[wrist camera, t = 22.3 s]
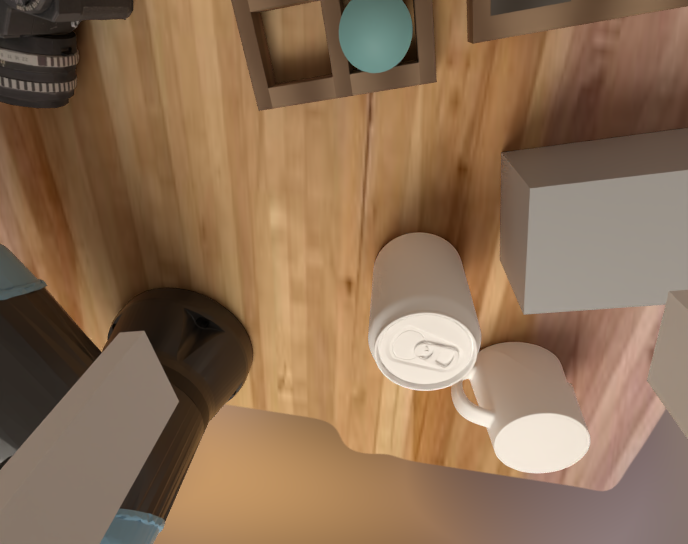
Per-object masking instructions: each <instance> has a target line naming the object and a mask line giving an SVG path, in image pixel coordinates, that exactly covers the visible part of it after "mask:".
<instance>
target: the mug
mask: <svg viewBox="0 0 688 544" xmlns="http://www.w3.org/2000/svg"><path fill="white" fill-rule="evenodd" d="M465 379H470V382H471V385H472V388H473V391H474V393H475V396H476V399H477V402H478V405H479V406H477V405H475V404H473V403H472V402H471V401H470V400H469V399H468V398H467V397H466V395H465V393H464V391H463V386H462V381H463V380H465ZM451 395H452V400H453V403H454V406H455V407H456V409H457V411H458V412H459V413H460V414H461V415H462V416H463V417H464V418H465V419H467V420H469V421H471V422H473V423H475V424H478V425H481V426H484V427H486V428H487V431H488V433H489V436H490V439H491V442H492V445H493V448H494V451H495V453H496V455H497V457H498V458H499V459H500V460H501V461H502V462H503V463H504V464H505V465H507V466H509V467H511V468H513V469H515V470H519V471H522V472H528V473H548V472H554V471H558V470H562V469H564V468H567V467H569V466H571V465H573V464H575V463H576V462H578V461H579V460H580V459H581V458H582V457H583V456H584V455H585V454H586V452H587V451H588V449H589V446H590V435H589V432H588V429H587V426H586V423H585V421H584V418H583V415H582V412H581V409H580V406H579V404H578V401H577V398H576V395H575V392H574V389H573V386H572V384H571V383H568V382H567V380H566V377H565V374H564V371H563V368H562V365H561V362H560V361H559V359H558V358H557V357H556V356H555V355H554V354H553V353H552V352H550V351H549V350H547V349H545V348H543V347H540V346H538V345H534V344H530V343H524V342H504V343H498V344H495V345H491V346H489V347H486V348H484V349H483V350H481V351H480V352H478V355H477V359H476V362H475V364H474V366H473V368H472V369H471V371H470V372H469V373H468V374H467V375H466V376H465V377H464V378H463V379H462V380H460V381H459V382H457V383H455V384H453V385H452V388H451Z"/></svg>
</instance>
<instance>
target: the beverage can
mask: <svg viewBox="0 0 688 544" xmlns="http://www.w3.org/2000/svg"><path fill="white" fill-rule="evenodd" d="M368 343H369V348H370V351H371V354H372V356H373V358H374V359H375V361H376V363H377V366H378V367H379V369H380V371H381V372H382V373H383V374H384V375H385V376H386V377H387V378H388V379H389V380H391V381H392V382H394V383H396V384H398V385H400V386H402V387H405V388H409V389H413V390H421V391H430V390H438V389H442V388H446V387H449V386H451V385H453V384H455V383H457V382H459V381H460V380H462V379H463V378H464V377H465V376H466V375H467V374H468V373H469V372H470V371H471V369H472V368H473V366H474V364H475V362H476V359H477V355H478V352H479V349H480V346H481V330H480V326H479V322H478V319H477V315H476V312H475V308H474V304H473V301H472V297H471V294H470V290H469V286H468V283H467V279H466V276H465V272H464V268H463V265H462V261H461V258H460V256H459V254H458V252H457V251H456V249H455V248H454V247H453V246H452V245H451V244H450V243H449V242H448V241H446V240H445V239H443V238H441V237H439V236H437V235H434V234H430V233H422V232H417V233H409V234H405V235H402V236H399V237H397V238H395V239H393V240H392V241H390V242H389V243H388V244H386V245H385V246H384V247H383V248H382V250H381V251H380V252H379V254H378V256H377V258H376V260H375V264H374V270H373V283H372V295H371V308H370V320H369V333H368Z"/></svg>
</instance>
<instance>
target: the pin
mask: <svg viewBox="0 0 688 544" xmlns="http://www.w3.org/2000/svg"><path fill="white" fill-rule="evenodd" d="M412 32H413V31H412V20H411V16H410V13H409V11H408V9H407V7H406V5H405V4H404V2H403V1H402V0H351V1H350V2H349V3H348V5H347V6H346V8H345V10H344V12H343V14H342V16H341V19H340V24H339V41H340V45H341V48H342V51H343V53H344V55H345V56H346V58H347V59H348V61H349V62H350V63H351V64H352V65H353V66H355V67H356V68H358V69H360V70H361V71H364V72H368V73H381V72H385V71H387V70H389V69H391V68H393V67H394V66H396V65H397V64H398V63H399V62H400V61H401V60H402V59H403V57H404V56H405V54H406V53H407V51H408V49H409V46H410V43H411V39H412Z"/></svg>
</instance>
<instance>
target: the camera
mask: <svg viewBox="0 0 688 544" xmlns="http://www.w3.org/2000/svg"><path fill="white" fill-rule="evenodd" d="M132 11H133V0H0V102H4V103H7V104H11V105H17V106H23V107H32V108H58V107H61V106H65V105H66V104H67V103H69V98H70V97H72V96H73V95H74V88H75V87H76V86H77V75H76V71H75V70H76V64H77V63H78V62H79V51H78V49H77V41H76V34H75V32H74V31H73V30H74V29H75V28H77V26H78V24H79V23H80V22H81V21H82V20H109V19H124V20H126V18H128V17H129V16H130V14H131V13H132Z"/></svg>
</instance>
